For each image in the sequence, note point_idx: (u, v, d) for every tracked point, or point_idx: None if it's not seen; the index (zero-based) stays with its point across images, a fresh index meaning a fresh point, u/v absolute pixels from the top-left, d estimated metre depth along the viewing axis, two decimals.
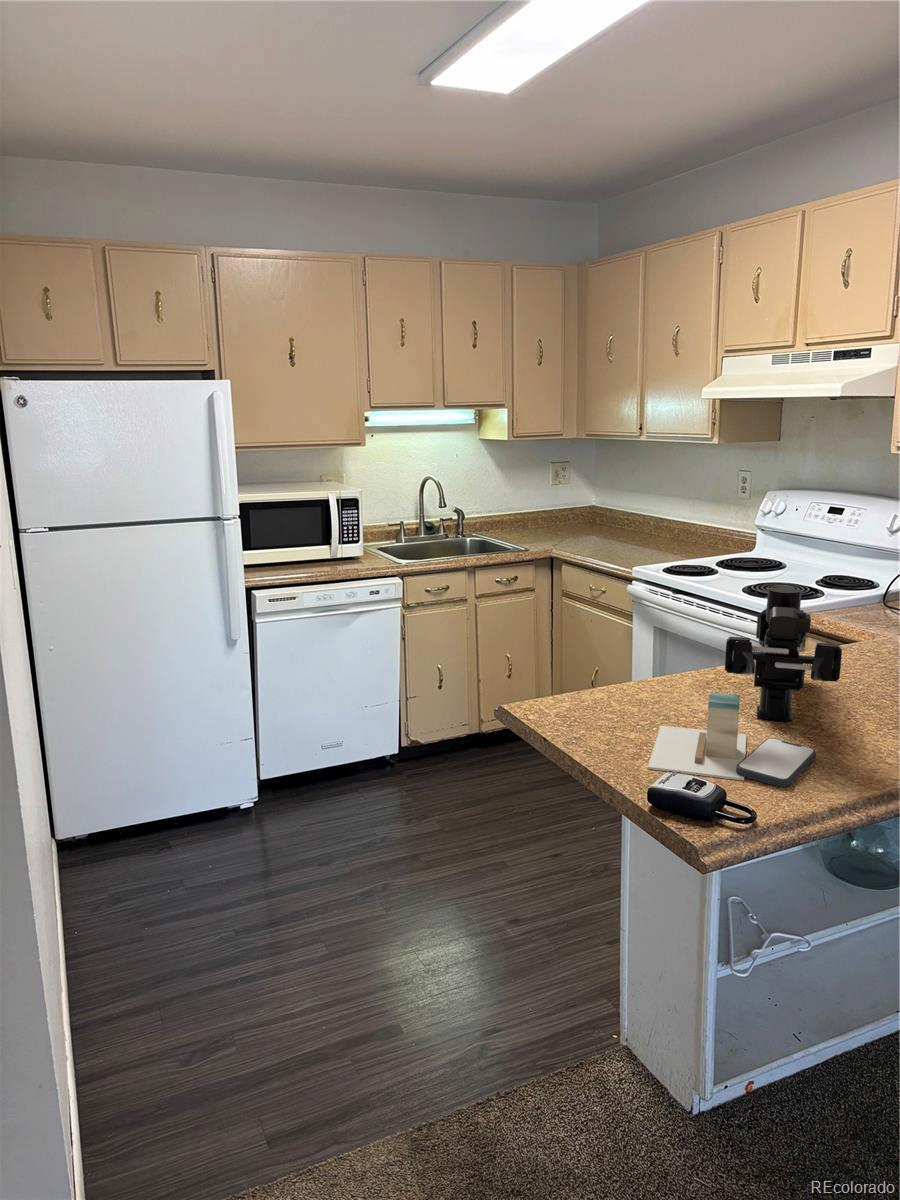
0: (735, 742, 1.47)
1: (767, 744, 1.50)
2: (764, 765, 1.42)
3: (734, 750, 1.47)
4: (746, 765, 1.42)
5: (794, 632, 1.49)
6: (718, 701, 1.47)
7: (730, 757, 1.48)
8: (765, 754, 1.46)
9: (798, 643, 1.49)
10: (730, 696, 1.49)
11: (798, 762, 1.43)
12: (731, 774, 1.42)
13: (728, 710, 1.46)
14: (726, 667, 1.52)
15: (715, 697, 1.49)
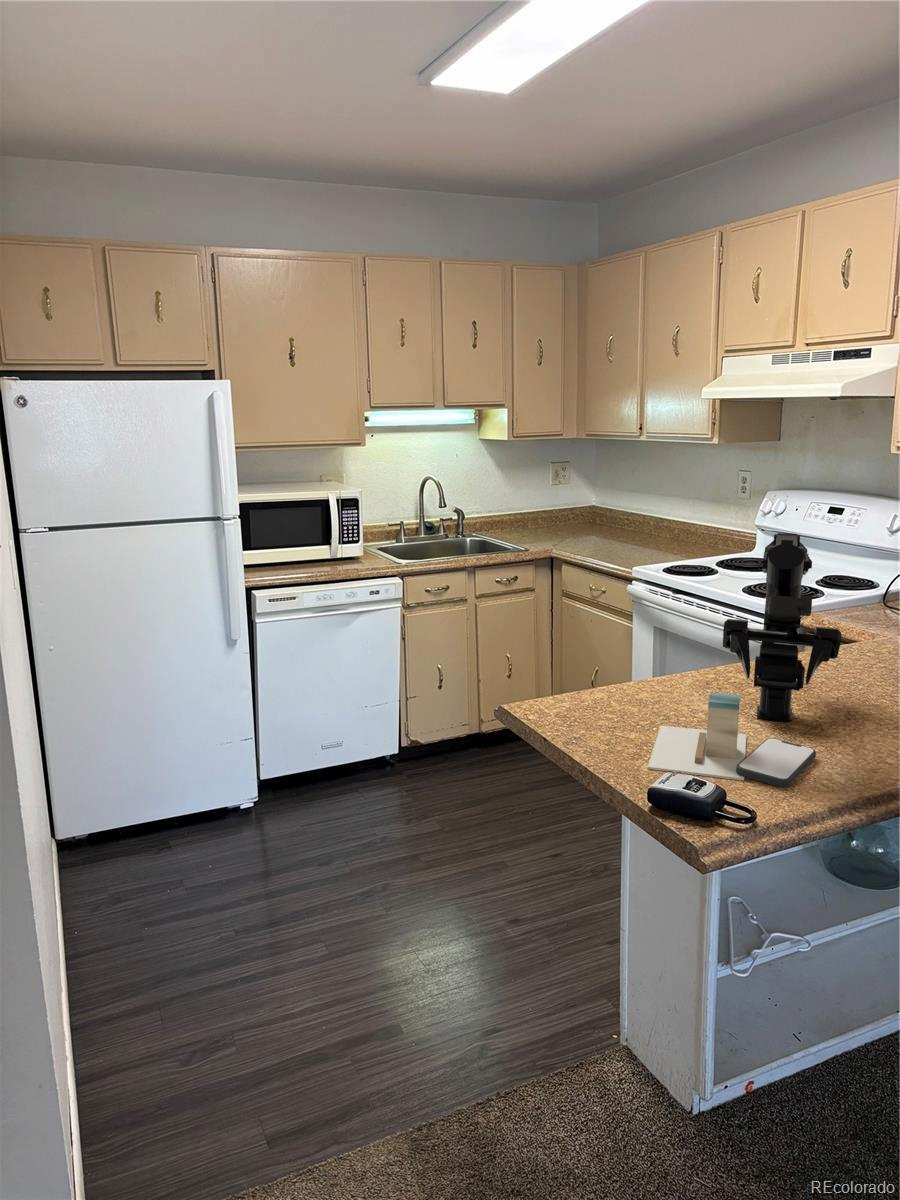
0: (735, 742, 1.47)
1: (767, 744, 1.50)
2: (764, 765, 1.42)
3: (734, 750, 1.47)
4: (746, 765, 1.42)
5: (794, 618, 1.44)
6: (718, 701, 1.47)
7: (730, 757, 1.48)
8: (765, 754, 1.46)
9: (797, 626, 1.45)
10: (730, 696, 1.49)
11: (798, 762, 1.43)
12: (731, 774, 1.42)
13: (728, 710, 1.46)
14: (724, 645, 1.52)
15: (715, 697, 1.49)
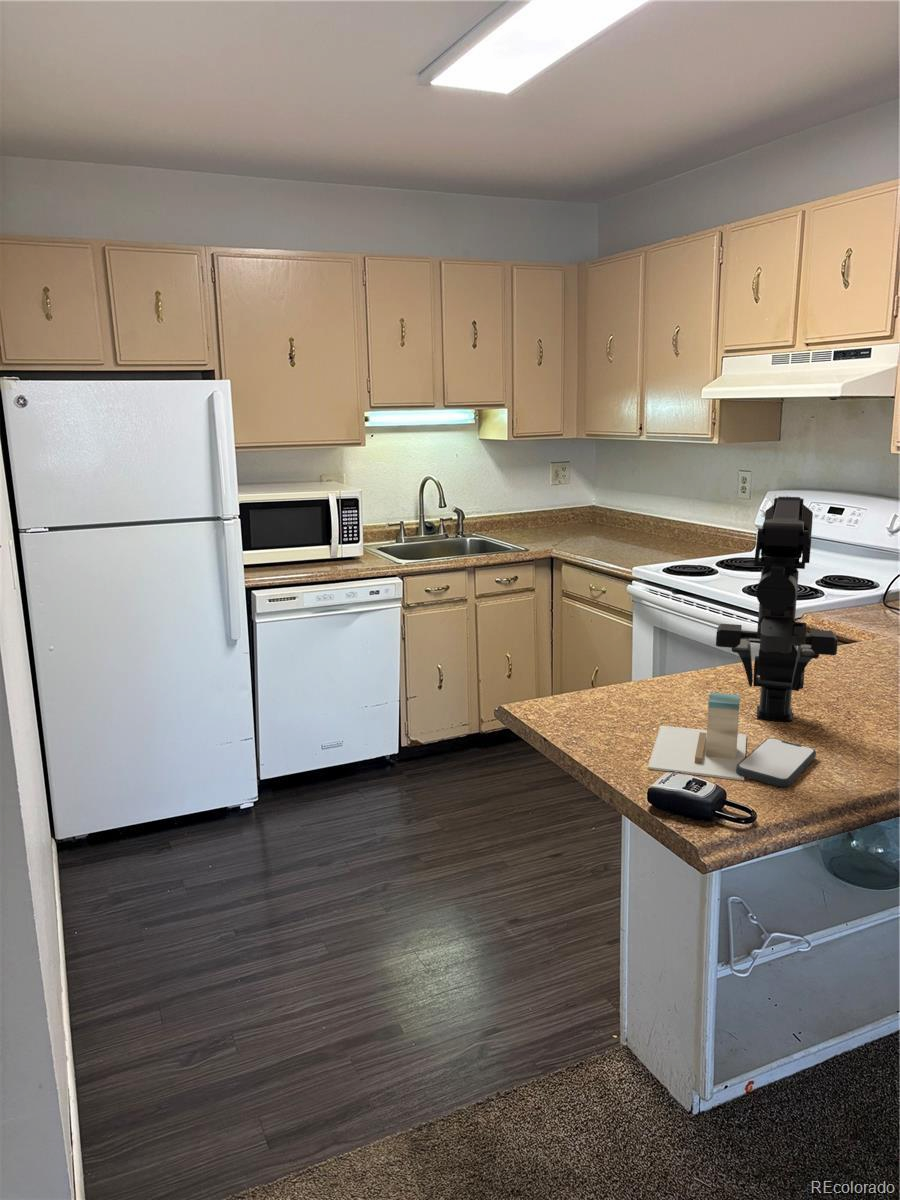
0: (735, 742, 1.47)
1: (767, 744, 1.50)
2: (764, 765, 1.42)
3: (734, 750, 1.47)
4: (746, 765, 1.42)
5: None
6: (718, 701, 1.47)
7: (730, 757, 1.48)
8: (765, 754, 1.46)
9: None
10: (730, 696, 1.49)
11: (798, 762, 1.43)
12: (731, 774, 1.42)
13: (728, 710, 1.46)
14: None
15: (715, 697, 1.49)
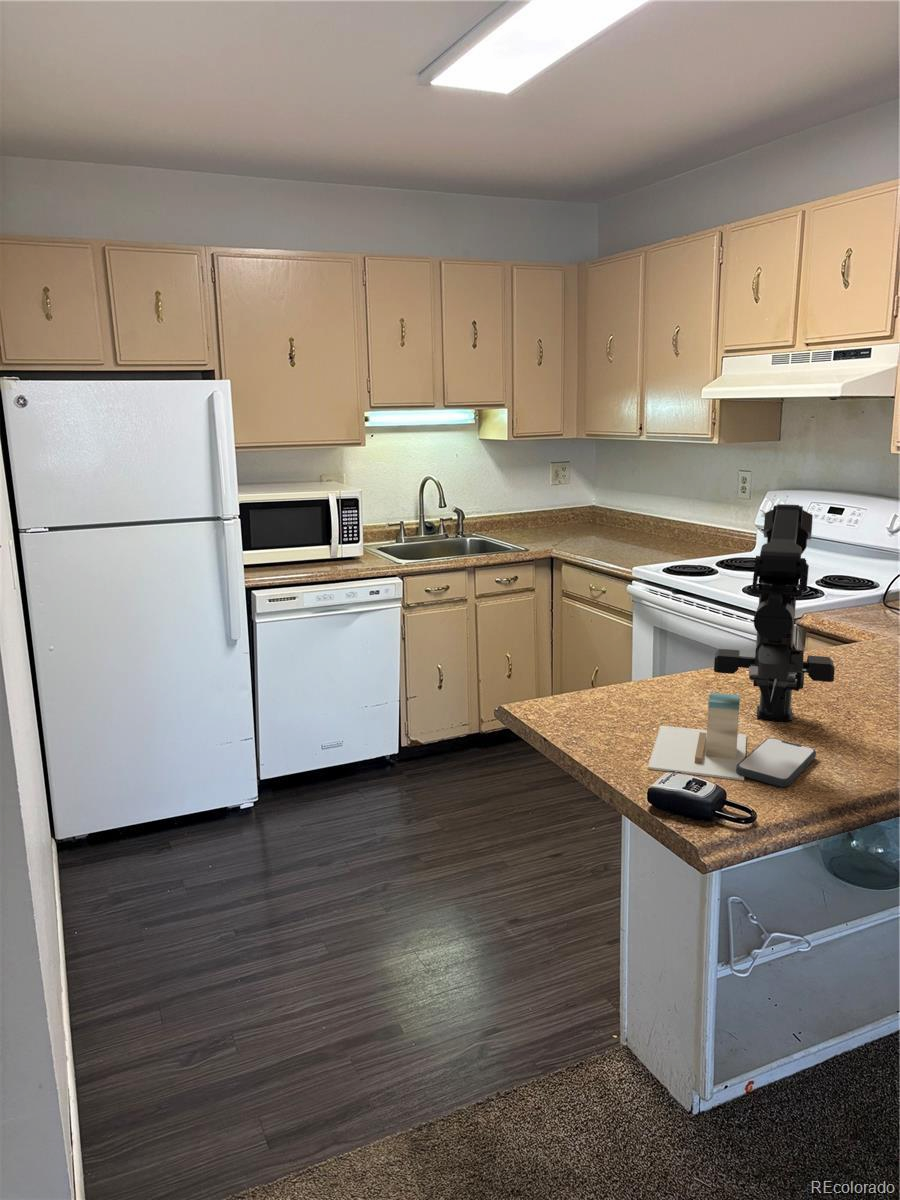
0: (735, 742, 1.47)
1: (767, 744, 1.50)
2: (764, 765, 1.42)
3: (734, 750, 1.47)
4: (746, 765, 1.42)
5: None
6: (718, 701, 1.47)
7: (730, 757, 1.48)
8: (765, 754, 1.46)
9: None
10: (730, 696, 1.49)
11: (798, 762, 1.43)
12: (731, 774, 1.42)
13: (728, 710, 1.46)
14: None
15: (715, 697, 1.49)
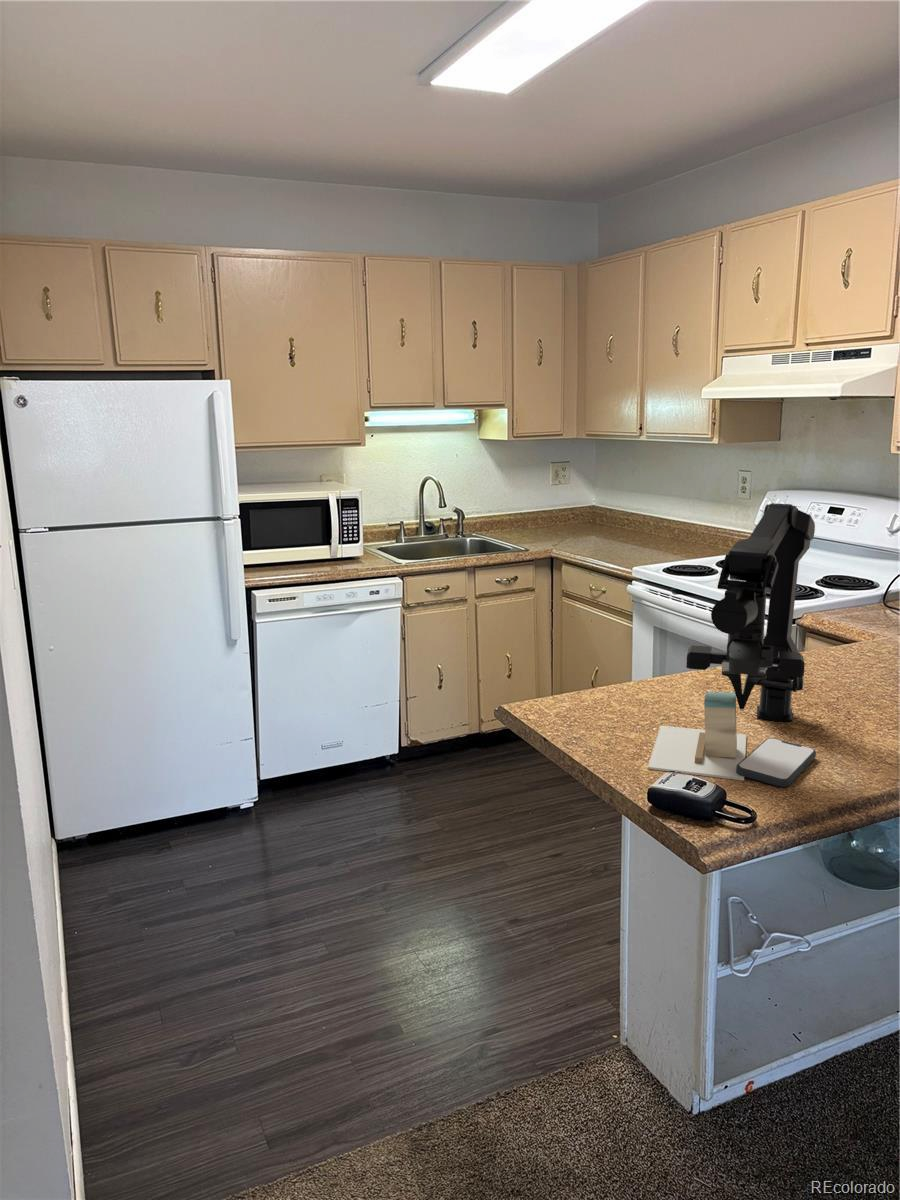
0: (734, 740, 1.47)
1: (767, 744, 1.50)
2: (764, 765, 1.42)
3: (733, 748, 1.47)
4: (746, 765, 1.42)
5: None
6: (714, 701, 1.47)
7: (730, 755, 1.48)
8: (765, 754, 1.46)
9: None
10: (726, 694, 1.50)
11: (798, 762, 1.43)
12: (731, 774, 1.42)
13: (724, 709, 1.46)
14: None
15: (711, 696, 1.49)
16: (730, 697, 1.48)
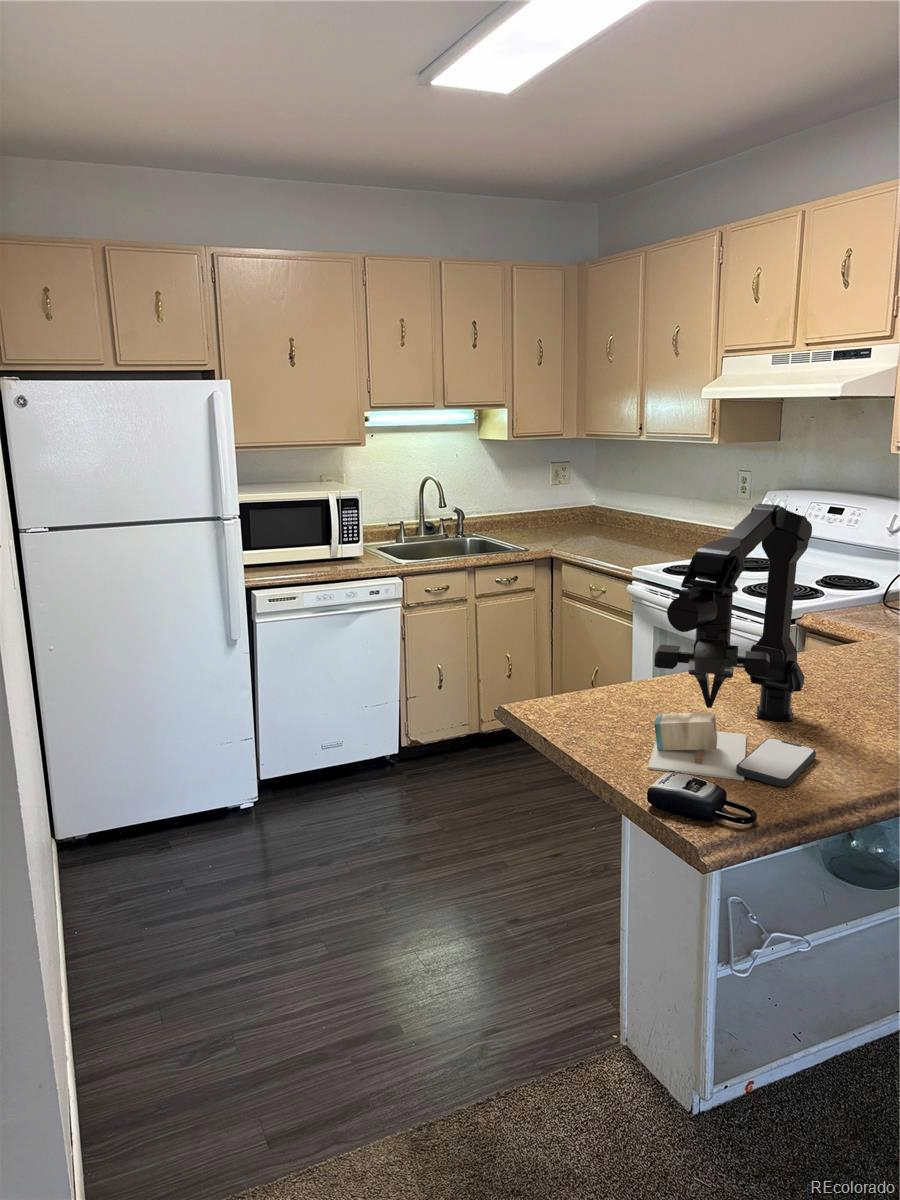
0: (694, 723, 1.49)
1: (767, 744, 1.50)
2: (764, 765, 1.42)
3: (703, 723, 1.48)
4: (746, 765, 1.42)
5: None
6: (656, 741, 1.52)
7: (712, 726, 1.48)
8: (765, 754, 1.46)
9: None
10: None
11: (798, 762, 1.43)
12: (731, 774, 1.42)
13: (662, 732, 1.51)
14: None
15: None
16: None
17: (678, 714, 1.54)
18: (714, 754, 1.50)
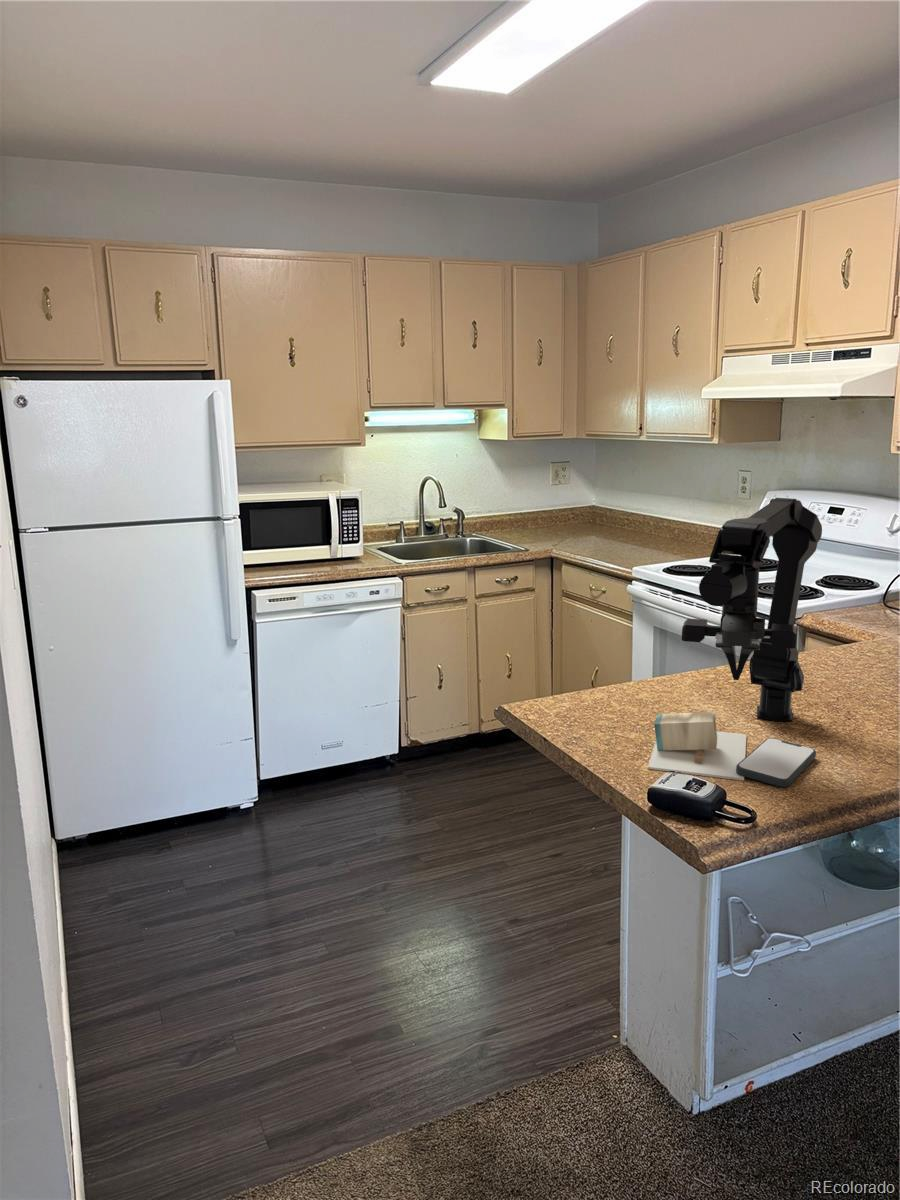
0: (694, 723, 1.49)
1: (767, 744, 1.50)
2: (764, 765, 1.42)
3: (703, 723, 1.48)
4: (746, 765, 1.42)
5: None
6: (656, 741, 1.52)
7: (712, 726, 1.48)
8: (765, 754, 1.46)
9: None
10: None
11: (798, 762, 1.43)
12: (731, 774, 1.42)
13: (662, 732, 1.51)
14: None
15: None
16: None
17: (678, 714, 1.54)
18: (714, 754, 1.50)
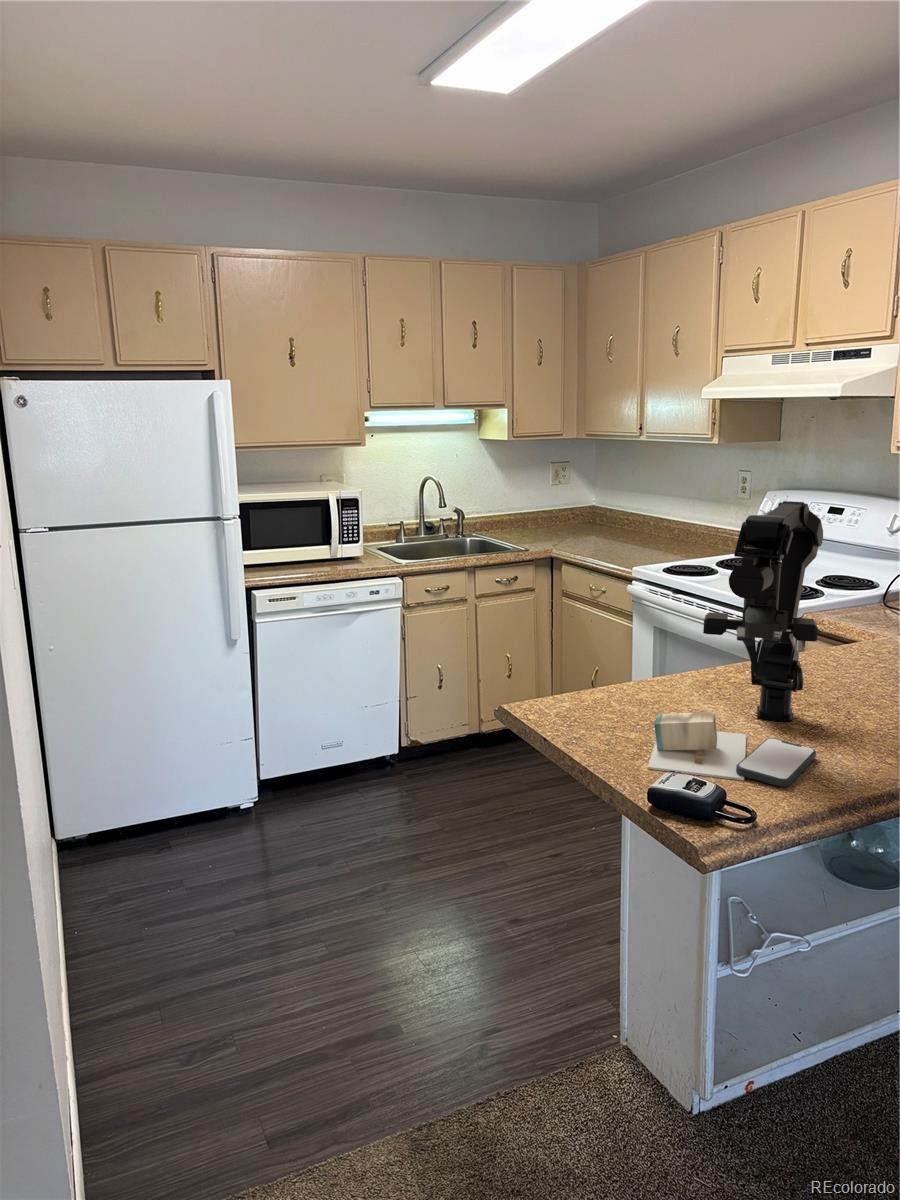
0: (694, 723, 1.49)
1: (767, 744, 1.50)
2: (764, 765, 1.42)
3: (703, 723, 1.48)
4: (746, 765, 1.42)
5: None
6: (656, 741, 1.52)
7: (712, 726, 1.48)
8: (765, 754, 1.46)
9: None
10: None
11: (798, 762, 1.43)
12: (731, 774, 1.42)
13: (662, 732, 1.51)
14: None
15: None
16: None
17: (678, 714, 1.54)
18: (714, 754, 1.50)
